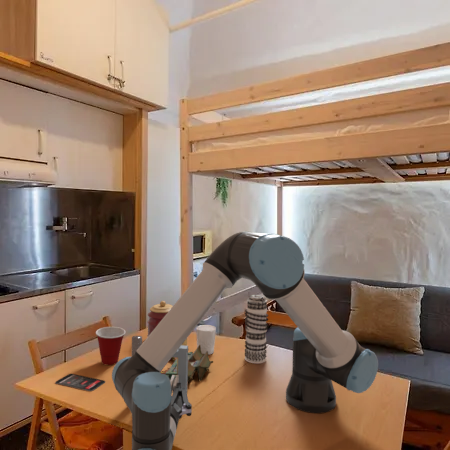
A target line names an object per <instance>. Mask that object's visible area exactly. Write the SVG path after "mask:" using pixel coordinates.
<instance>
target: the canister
mask: <svg viewBox="0 0 450 450" xmlns="http://www.w3.org/2000/svg"><path fill="white" fill-rule="evenodd" d="M173 306H174V305H172V304H169V303H166V301H165V300H161V301H160V302H159V303H157V304H154V305H152V306H151V307H150V308H149V310H150V311H149V312H148V313H147V316H148V320H147V337H148V336H149V335H150V334H151V332H152V331H153V330H154V329H155V328H156V326H157V325H158V324H159V323H160V321H161V320H162V319H163V318H164V317H165V315H166V314H167V313H168V312H169V311H170V309H171V308H172V307H173Z"/></svg>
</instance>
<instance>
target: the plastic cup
mask: <svg viewBox="0 0 450 450" xmlns="http://www.w3.org/2000/svg"><path fill="white" fill-rule="evenodd" d="M95 335H96V338H97V342H98V348H99V354H100V359H101V360H100V361H101V363H102V365H105V366H113V365H116V363H117V362H118V361H119V360H120V359H119V357H120V353H121V349H122V343H123V339H124V336H125V335H126V330H125V329H124V328H122V327H118V326H104V327H100V328H99V329H97V330H96V331H95Z"/></svg>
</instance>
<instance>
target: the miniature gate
mask: <svg viewBox="0 0 450 450" xmlns="http://www.w3.org/2000/svg"><path fill="white" fill-rule="evenodd" d="M170 360H172V361H173V363H172V365H171V366H170V367H167V369H165V370H163V371H162V370H161V372H160V373H161V374H165V375H167V376H168V377H169V379H170V380H171V377H172V375H175V378H176V375H177V357H172V358H171V359H170ZM213 363H214V360H210V358H209V355H208V351H206V353H205V354H202V352H201V347H200V345H199V346H198V348H197V347H196V349H195V351H188V380H187V383H188V382H189V381H190V380H193V376H194V374H195V372H197V376H198V379H199V380H198V381H199V382H201V381H202V379H203V377H204V376H205V373H207V372H210V367H211V364H213Z"/></svg>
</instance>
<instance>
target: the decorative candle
mask: <svg viewBox="0 0 450 450" xmlns="http://www.w3.org/2000/svg"><path fill="white" fill-rule="evenodd" d="M246 301H247V306H246V308H245V309H244V311H245V312H244V316H245V318H244V320H245V322H244V324H245V327H244V328H245V331H246V335H245V340H244V344H245V345H244V347H245V349H244V360H245V361H246V362H248V363H249V364H251V363H252V364H263V363H265V362H266V361H267V358H266V357H267V353H268V352H267V344H268V343H267V333H266V332H267V331H268V327H267V326H268V322H267V321H269V318H268V317H269V314H268V313H267V312H268V308H267V302H268V301H269V299H267V298H266V297H265V296H264V295H263V294H262V295H261V294H252V295H249V297H248V298H246Z"/></svg>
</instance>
